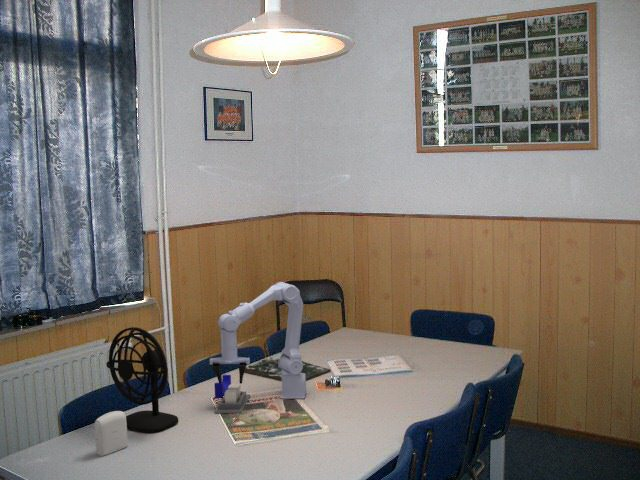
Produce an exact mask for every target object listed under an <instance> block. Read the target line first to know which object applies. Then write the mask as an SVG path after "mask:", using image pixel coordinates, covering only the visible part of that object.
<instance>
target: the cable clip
mask: <svg viewBox="0 0 640 480" xmlns="http://www.w3.org/2000/svg"><path fill="white" fill-rule="evenodd" d="M221 376H222V383H221V384H219V382H215V383H214V399H217V398H223V396H224V395H225V392H226V390H228V387H229V385H230V384H232V375H231V374H223V375H221Z"/></svg>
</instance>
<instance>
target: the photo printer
mask: <svg viewBox="0 0 640 480" xmlns="http://www.w3.org/2000/svg"><path fill="white" fill-rule="evenodd" d="M126 416H127V415H126V414H125V411H122V410H114V411H109V412H107V413H104V414H103V415H101V416H99V417H98V418H97V419H96V420H94V432H95V443H96V444H95V446H96V447H95V448H96V453H97V455H98V457H103V456H107V455H109V454H112V453H114V452H118V451H120V450H123V449H125V448H127V447H128V446H129V442H128V428H127V423H126Z"/></svg>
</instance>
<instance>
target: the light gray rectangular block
mask: <svg viewBox="0 0 640 480" xmlns="http://www.w3.org/2000/svg"><path fill="white" fill-rule="evenodd" d="M225 403H238V398H237V390H226V392H225Z"/></svg>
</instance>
